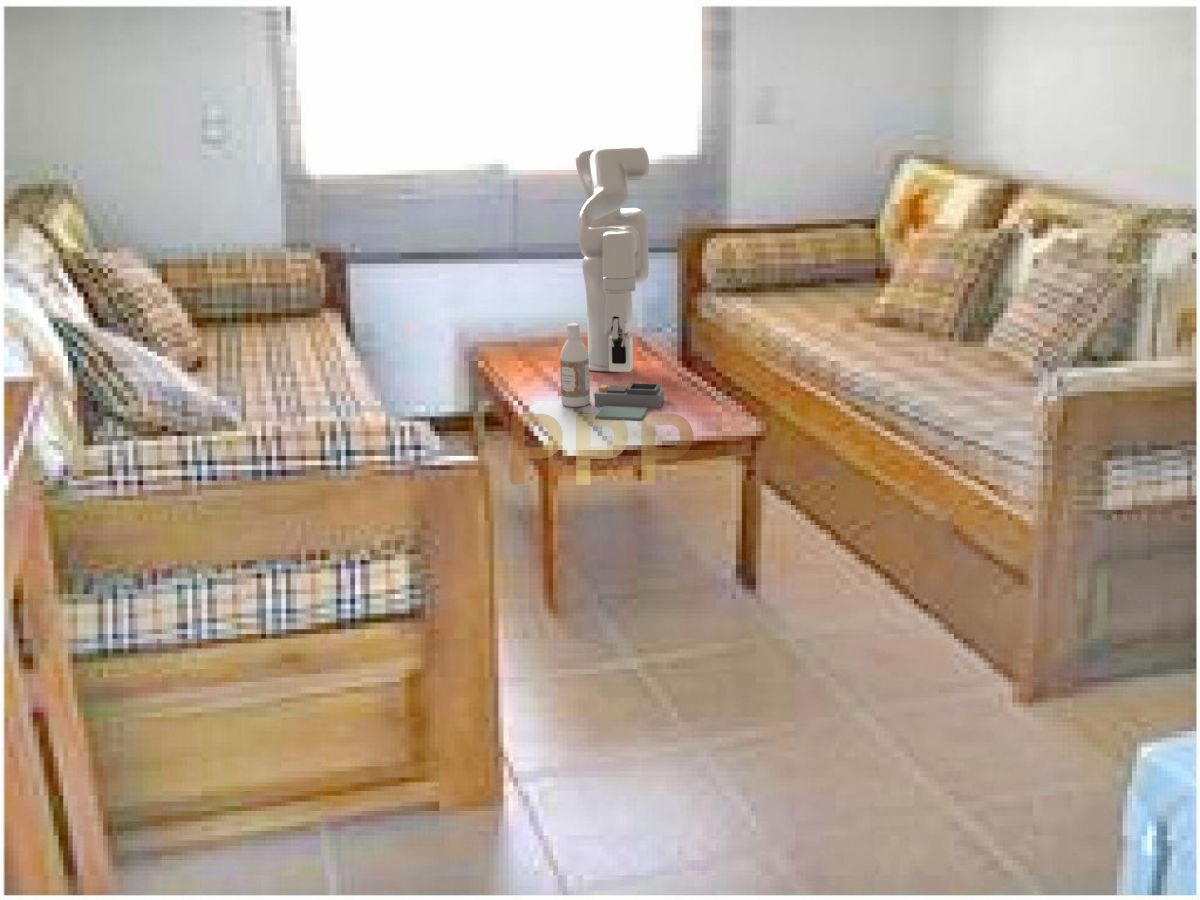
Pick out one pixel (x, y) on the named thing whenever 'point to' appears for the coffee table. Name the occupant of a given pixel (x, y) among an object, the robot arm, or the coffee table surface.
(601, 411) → the mat
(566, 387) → the bath foam
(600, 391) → the power strip
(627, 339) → the block
